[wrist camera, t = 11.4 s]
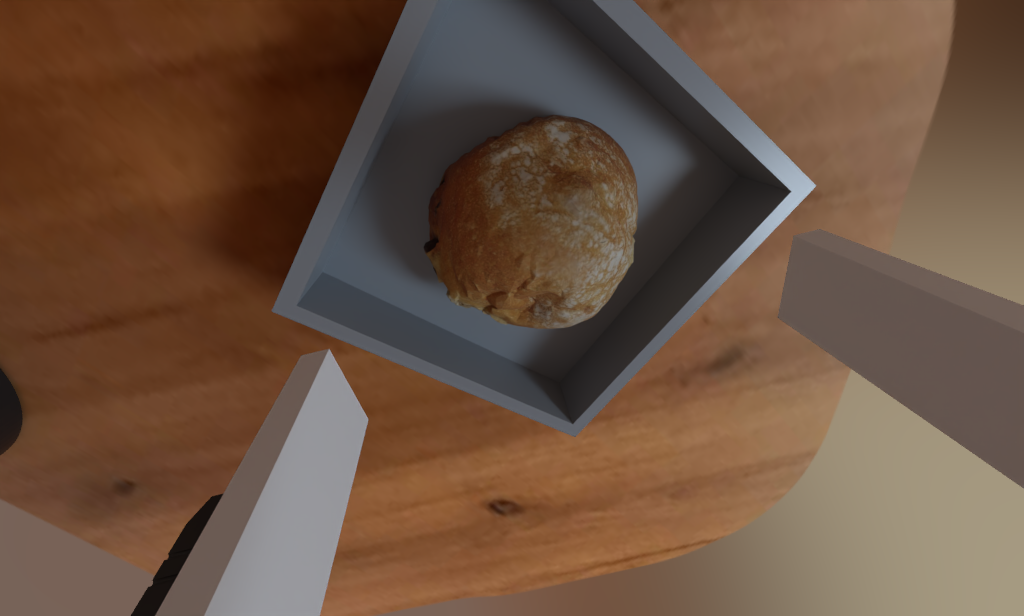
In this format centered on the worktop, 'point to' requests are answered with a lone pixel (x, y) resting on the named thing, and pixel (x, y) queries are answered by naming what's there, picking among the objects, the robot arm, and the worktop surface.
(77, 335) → the worktop surface
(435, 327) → the bread tray
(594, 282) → the bread roll
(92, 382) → the worktop surface
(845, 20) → the worktop surface
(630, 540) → the worktop surface
